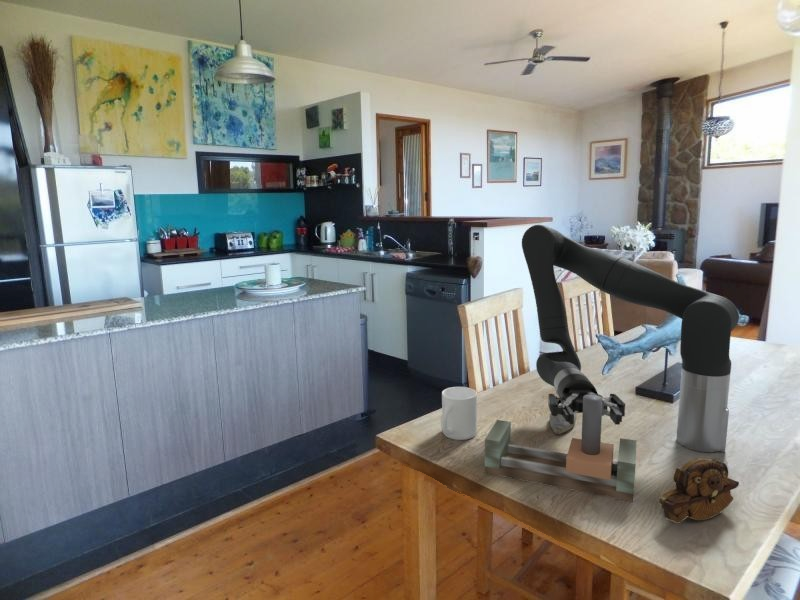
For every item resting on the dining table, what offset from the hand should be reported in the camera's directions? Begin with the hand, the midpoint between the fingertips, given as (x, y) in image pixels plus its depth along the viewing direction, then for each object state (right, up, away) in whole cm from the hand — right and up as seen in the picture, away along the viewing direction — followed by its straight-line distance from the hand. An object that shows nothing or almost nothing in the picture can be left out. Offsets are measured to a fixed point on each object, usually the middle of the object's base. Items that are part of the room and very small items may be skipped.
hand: (595, 419), depth 100 cm
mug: (-24, -10, +25) cm, 36 cm away
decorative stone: (+3, -8, +30) cm, 32 cm away
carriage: (0, -10, +4) cm, 10 cm away
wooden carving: (+15, -15, -8) cm, 23 cm away
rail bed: (-5, -13, +7) cm, 15 cm away
